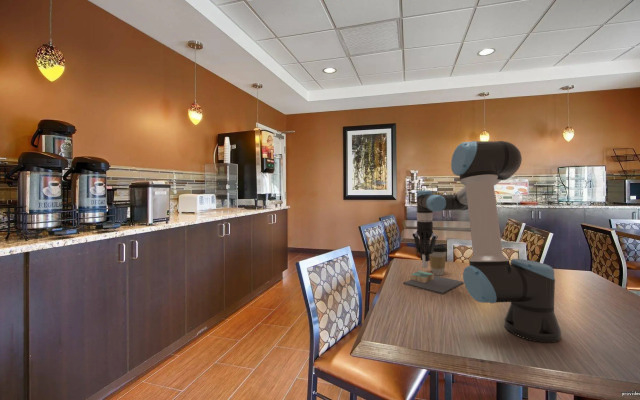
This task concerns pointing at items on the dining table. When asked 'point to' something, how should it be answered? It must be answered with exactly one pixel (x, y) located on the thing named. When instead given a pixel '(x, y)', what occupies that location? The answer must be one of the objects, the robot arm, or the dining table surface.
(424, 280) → the tan and green block
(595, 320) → the dining table surface
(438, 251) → the coffee cup
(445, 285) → the mat
